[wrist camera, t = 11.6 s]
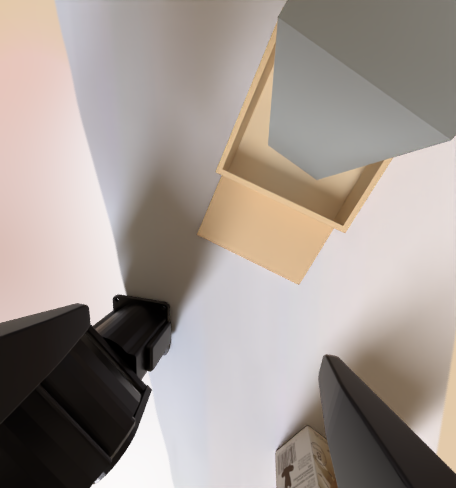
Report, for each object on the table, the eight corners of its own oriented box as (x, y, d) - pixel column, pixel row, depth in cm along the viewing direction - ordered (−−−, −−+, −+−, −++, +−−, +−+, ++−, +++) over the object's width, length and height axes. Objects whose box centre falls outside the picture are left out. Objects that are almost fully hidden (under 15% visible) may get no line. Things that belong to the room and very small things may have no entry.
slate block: (267, 145, 17) (277, 16, 5) (299, 98, 16) (414, -218, 4) (316, 180, 17) (451, 140, 5) (351, 135, 16) (637, -61, 4)
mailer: (198, 233, 21) (187, 240, 18) (279, 41, 16) (283, 7, 13) (298, 283, 20) (304, 297, 17) (411, 97, 16) (445, 75, 13)
